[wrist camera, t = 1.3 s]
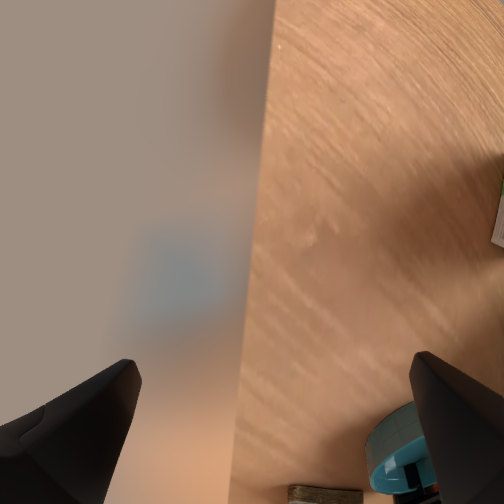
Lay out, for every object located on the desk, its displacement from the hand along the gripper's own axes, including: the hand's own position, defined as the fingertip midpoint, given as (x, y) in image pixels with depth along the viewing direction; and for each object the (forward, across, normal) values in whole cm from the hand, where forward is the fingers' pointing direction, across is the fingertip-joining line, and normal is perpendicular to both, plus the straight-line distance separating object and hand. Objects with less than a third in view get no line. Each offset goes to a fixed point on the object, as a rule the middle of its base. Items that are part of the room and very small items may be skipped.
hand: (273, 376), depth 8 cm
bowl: (+11, -16, +23) cm, 30 cm away
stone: (+10, -7, +38) cm, 40 cm away
